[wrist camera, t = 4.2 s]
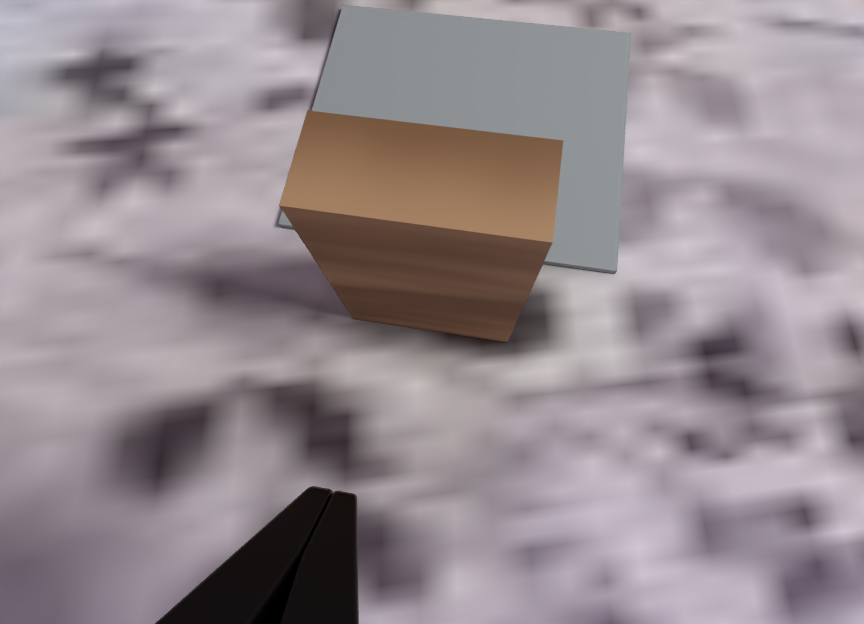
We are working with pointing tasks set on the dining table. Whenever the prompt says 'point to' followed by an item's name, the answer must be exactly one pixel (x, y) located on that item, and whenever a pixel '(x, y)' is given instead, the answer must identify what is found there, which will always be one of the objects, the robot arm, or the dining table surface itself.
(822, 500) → the dining table surface
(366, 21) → the mat
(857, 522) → the dining table surface
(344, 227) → the walnut block
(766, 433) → the dining table surface
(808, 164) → the dining table surface
